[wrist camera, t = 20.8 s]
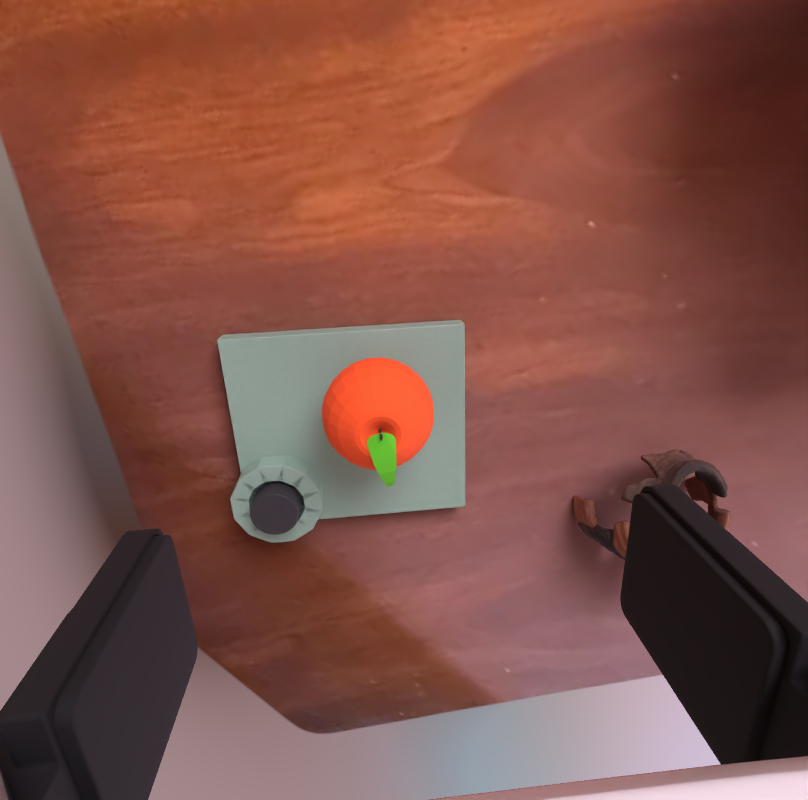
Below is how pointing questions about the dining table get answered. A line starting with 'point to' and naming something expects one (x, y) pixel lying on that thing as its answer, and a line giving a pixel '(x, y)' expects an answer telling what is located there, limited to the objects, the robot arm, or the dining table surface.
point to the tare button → (275, 508)
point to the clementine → (378, 415)
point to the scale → (303, 425)
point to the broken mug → (667, 471)
